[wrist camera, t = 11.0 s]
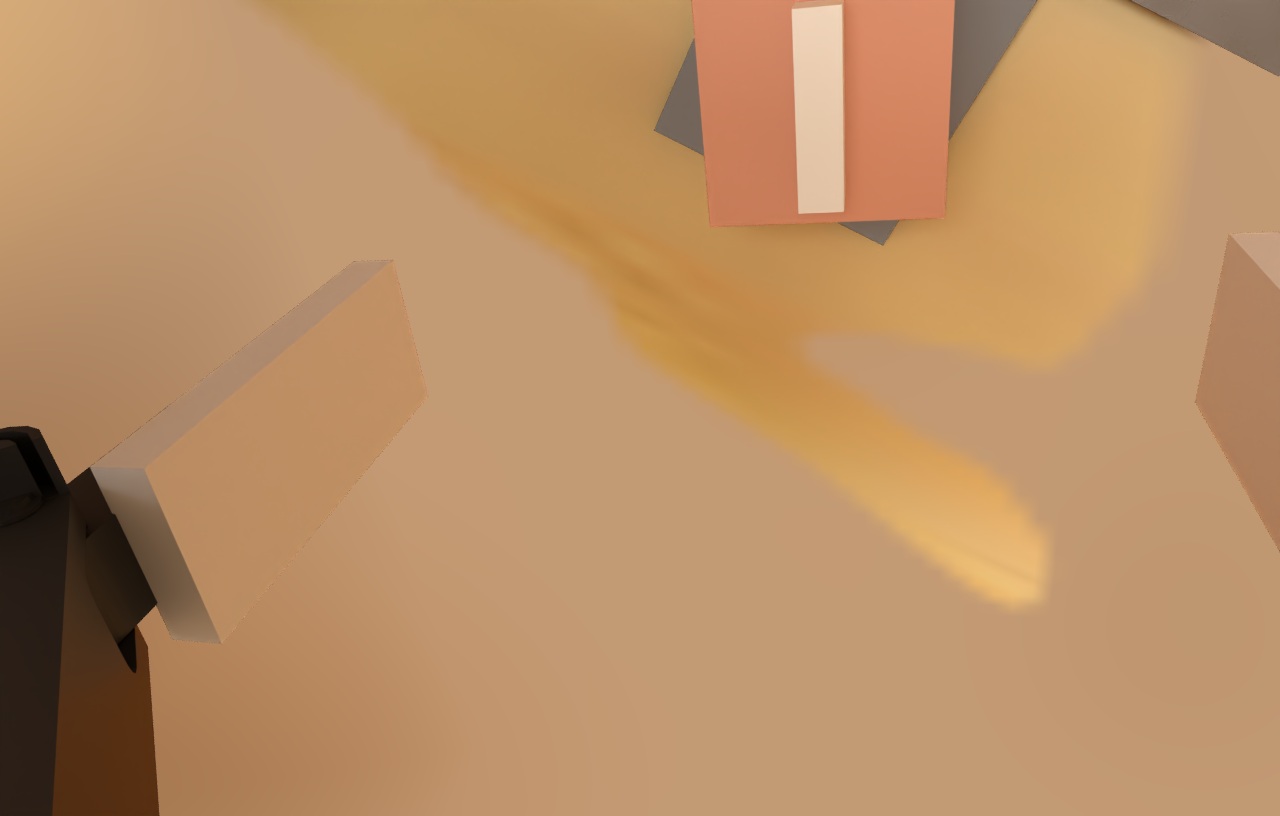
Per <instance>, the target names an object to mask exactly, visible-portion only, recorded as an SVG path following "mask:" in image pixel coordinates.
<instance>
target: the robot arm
mask: <svg viewBox="0 0 1280 816" xmlns="http://www.w3.org/2000/svg"><path fill="white" fill-rule="evenodd" d="M427 397H428V394H427V391H426V387H425V383H424V379H423V375H422V371H421V367H420V364H419V360H418V356H417V352H416V348H415V344H414V341H413V336H412V333H411V328H410V325H409V321H408V317H407V313H406V309H405V306H404V301H403V297H402V294H401V290H400V286H399V282H398V278H397V274H396V270H395V266H394V263H393V260H381V261H354V262H353V263H351V264H350V265H349V266H348V267H346V268H345V269H344V270H342V271H341V272H340V273H339V274H337V275H336V276H335V277H333V278H332V279H331V280H330V281H328V282H327V283H326V284H324V285H323V286H322V287H320V288H319V289H318V290H317V291H315V292H314V293H313V294H312V295H310V296H309V297H308V298H306V299H305V300H304V301H302V302H301V303H300V304H299V305H297V306H296V307H295V308H293V309H292V310H291V311H290V312H288V313H287V314H286V315H284V316H283V317H282V318H281V319H279V320H278V321H277V322H275V323H274V324H273V325H272V326H270V327H269V328H268V329H267V330H265V331H264V332H263V333H261V334H260V335H259V336H258V337H256V338H255V339H254V340H252V341H251V342H250V343H249V344H247V345H246V346H245V347H243V348H242V349H241V350H240V351H238V352H237V353H236V354H235V355H233V356H232V357H231V358H229V359H228V360H227V361H225V362H224V363H223V364H222V365H220V366H219V367H218V368H216V369H215V370H214V371H213V372H211V373H210V374H209V375H207V376H206V377H205V378H204V379H202V380H201V381H200V382H198V383H197V384H196V385H195V386H193V387H192V388H191V389H190V390H188V391H187V392H186V393H185V394H183V395H182V396H181V397H179V398H178V399H177V400H175V401H174V402H173V403H171V404H170V405H169V406H167V407H166V408H165V409H164V410H162V411H161V412H160V413H158V414H157V415H156V416H154V417H153V418H152V419H151V420H149V421H148V422H147V423H146V424H145V425H143V426H142V427H140V428H139V429H138V430H137V431H135V432H134V433H133V434H131V435H130V436H129V437H128V438H126V440H124V441H123V442H121V443H120V444H118V445H117V446H116V447H115V448H113V449H112V450H111V451H109V452H108V453H107V454H106V455H104V456H103V457H102V458H100V459H99V460H98V461H97V462H96V463H94V464H93V465H92V466H90V467H89V468H88V469H86V470H85V471H84V472H82V473H81V474H80V475H79V476H77V477H76V478H75V479H74V480H72V481H71V482H70V483H68V484H66V482H65V480H64V478H63V476H62V474H61V472H60V470H59V468H58V466H57V464H56V462H55V460H54V458H53V456H52V454H51V452H50V450H49V448H48V446H47V444H46V442H45V440H44V438H43V436H42V434H41V432H40V430H39V429H36V428H32V427H29V426H21V427H20V426H19V427H7V428H3V429H0V816H159V804H158V789H157V774H156V761H155V745H154V731H153V716H152V701H151V687H150V672H149V657H148V646H147V644H146V642H145V640H144V638H143V636H142V634H141V632H140V630H139V628H138V626H137V624H138V623H139V622H140V621H141V620H142V619H143V618H144V617H145V616H146V615H147V614H148V613H149V612H150V611H151V610H152V608H153V607H155V605H156V606H157V608H158V610H159V612H160V614H161V616H162V618H163V621H164V623H165V625H166V627H167V629H168V631H169V633H170V635H171V637H172V639H173V640H182V641H194V642H206V643H218V644H222V643H223V642H224V641H225V640H226V638H227V637H228V636H229V635H230V634H231V632H232V631H233V630H234V629H235V628H236V626H237V625H238V624H239V623H240V621H241V620H242V619H243V618H244V617H245V616H246V614H247V613H248V612H249V611H250V610H251V608H252V607H253V606H254V605H255V604H256V602H257V601H258V600H259V599H260V598H261V596H262V595H263V594H264V593H265V592H266V590H267V589H268V588H269V587H270V586H271V584H272V583H273V582H274V581H275V580H276V578H277V577H278V576H279V575H280V574H281V572H282V571H283V570H284V569H285V568H286V566H287V565H288V564H289V563H290V562H291V560H292V559H293V558H294V557H295V556H296V554H297V553H298V552H299V551H300V550H301V548H302V547H303V546H304V545H305V544H306V542H307V541H308V540H309V539H310V538H311V536H312V535H313V534H314V533H315V532H316V530H317V529H318V528H319V527H320V526H321V524H322V523H323V522H324V521H325V520H326V518H327V517H328V516H329V515H330V513H331V512H332V511H333V510H334V509H335V508H336V506H337V505H338V504H339V502H340V501H341V500H342V499H343V498H344V497H345V495H346V494H347V493H348V492H349V491H350V489H351V488H352V487H353V486H354V484H355V483H356V482H357V481H358V480H359V479H360V477H361V476H362V475H363V474H364V473H365V471H366V470H367V469H368V468H369V467H370V465H371V464H372V463H373V462H374V461H375V459H376V458H377V457H378V456H379V455H380V453H381V452H382V451H383V450H384V449H385V447H386V446H387V445H388V444H389V443H390V441H391V440H392V439H393V437H395V435H396V434H397V433H398V432H399V431H400V429H401V428H402V427H403V426H404V425H405V423H406V422H407V421H408V420H409V419H410V417H411V416H412V415H413V414H414V413H415V411H416V410H417V409H418V408H419V407H420V405H421V404H422V403H423V402H424V401H425V399H426V398H427ZM1195 403H1196V405H1197V406H1198V408H1199V410H1200V412H1201V413H1202V415H1203V417H1204V419H1205V420H1206V422H1207V424H1208V426H1209V427H1210V429H1211V431H1212V433H1213V435H1214V436H1215V438H1216V440H1217V442H1218V443H1219V445H1220V447H1221V449H1222V451H1223V452H1224V454H1225V456H1226V458H1227V459H1228V461H1229V463H1230V465H1231V466H1232V468H1233V470H1234V472H1235V473H1236V475H1237V477H1238V478H1239V481H1240V482H1241V484H1242V486H1243V488H1244V489H1245V491H1246V493H1247V495H1248V496H1249V498H1250V500H1251V502H1252V504H1253V505H1254V507H1255V509H1256V511H1257V512H1258V514H1259V516H1260V518H1261V520H1262V521H1263V523H1264V525H1265V527H1266V528H1267V530H1268V532H1269V534H1270V535H1271V537H1272V539H1273V541H1274V542H1275V544H1276V546H1277V548H1278V550H1279V551H1280V232H1256V233H1229V236H1228V241H1227V246H1226V251H1225V256H1224V261H1223V266H1222V271H1221V276H1220V281H1219V286H1218V291H1217V296H1216V301H1215V306H1214V311H1213V315H1212V321H1211V325H1210V331H1209V335H1208V341H1207V345H1206V351H1205V356H1204V361H1203V365H1202V370H1201V375H1200V380H1199V385H1198V390H1197V395H1196V400H1195Z"/></svg>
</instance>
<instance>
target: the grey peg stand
mask: <svg viewBox="0 0 1280 816" xmlns="http://www.w3.org/2000/svg"><path fill="white" fill-rule="evenodd" d="M1131 1H1133V2H1135V3H1137V4H1139V5H1141V6H1143V7H1145V8H1147V9H1149V10H1151V11H1153V12H1155V13H1157V14H1159V15H1160V16H1162V17H1164V18H1166V19H1168V20H1170V21H1172V22H1174V23H1176V24H1178V25H1180V26H1182V27H1184V28H1186V29H1188V30H1189V31H1191V32H1193V33H1195V34H1197V35H1199V36H1201V37H1203V38H1205V39H1207V40H1209V41H1211V42H1213V43H1215V44H1217V45H1219V46H1221V47H1222V48H1224V49H1226V50H1228V51H1230V52H1232V53H1234V54H1236V55H1238V56H1240V57H1242V58H1244V59H1246V60H1248V61H1249V62H1251V63H1253V64H1256V65H1257V66H1259V67H1261V68H1263V69H1265V70H1267V71H1269V72H1271V73H1273V74H1275V75H1277V76H1279V75H1280V0H1131Z"/></svg>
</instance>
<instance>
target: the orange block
mask: <svg viewBox="0 0 1280 816" xmlns="http://www.w3.org/2000/svg"><path fill="white" fill-rule="evenodd" d="M954 7H955V0H692V10H693V22H694V35H695V47H696V59H697V72H698V84H699V96H700V109H701V121H702V133H703V146H704V158H705V170H706V183H707V195H708V207H709V220H710V227H721V226H747V225H773V224H800V223H826V222H852V221H879V220H905V219H932V218H945V204H946V182H947V160H948V138H949V116H950V95H951V73H952V51H953V29H954Z"/></svg>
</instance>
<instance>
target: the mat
mask: <svg viewBox="0 0 1280 816" xmlns="http://www.w3.org/2000/svg"><path fill="white" fill-rule="evenodd" d="M1036 1H1037V0H955V7H954V29H953V51H952V73H951V95H950V116H949V138H948V141H949V140H950V138H951V137H952V135H953V133H954V132H955V130H956V129H957V127H958V125H959V124H960V122H961V121H962V119H963V117H964V116H965V114H966V113H967V111H968V109H969V108H970V106H971V105H972V103H973V102H974V100H975V98H976V97H977V95H978V94H979V92H980V90H981V89H982V87H983V86H984V84H985V82H986V81H987V79H988V78H989V76H990V74H991V73H992V71H993V70H994V68H995V66H996V65H997V63H998V62H999V60H1000V59H1001V57H1002V55H1003V54H1004V52H1005V51H1006V49H1007V47H1008V46H1009V44H1010V43H1011V41H1012V39H1013V38H1014V36H1015V35H1016V33H1017V31H1018V30H1019V28H1020V27H1021V25H1022V23H1023V22H1024V20H1025V19H1026V17H1027V15H1028V14H1029V12H1030V11H1031V9H1032V8H1033V6H1034V4H1035V3H1036ZM654 131H656V132H658V133H660V134H662V135H664V136H666V137H668V138H670V139H672V140H674V141H676V142H678V143H680V144H682V145H684V146H686V147H688V148H690V149H692V150H694V151H696V152H698V153H700V154H702V155H704V146H703V133H702V121H701V109H700V96H699V84H698V72H697V59H696V47H695V37H694V40H693V42H692V44H691V46H690V49H689V51H688V53H687V56H686V58H685V60H684V63H683V65H682V67H681V69H680V72H679V74H678V76H677V79H676V81H675V83H674V86H673V88H672V90H671V93H670V95H669V97H668V99H667V102H666V104H665V106H664V109H663V111H662V113H661V116H660V118H659V120H658V122H657V125H656V127H655V129H654ZM898 221H899V220H879V221H852V222H837V223H839V224H841V225H843V226H845V227H847V228H849V229H851V230H853V231H855V232H857V233H859V234H861V235H863V236H865V237H867V238H869V239H871V240H873V241H875V242H877V243H879V244H881V245H884V243H885V242H886V240H887V239H888V237H889V235H890V234H891V232H892V231H893V229H894V227H895V226H896V224H897V223H898Z"/></svg>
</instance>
